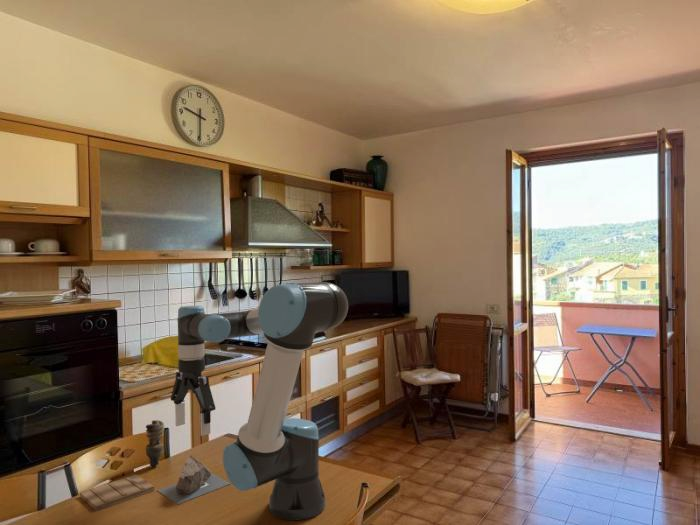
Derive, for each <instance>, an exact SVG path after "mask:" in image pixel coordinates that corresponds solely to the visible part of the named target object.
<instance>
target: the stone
mask: <svg viewBox="0 0 700 525" xmlns="http://www.w3.org/2000/svg"><path fill="white" fill-rule="evenodd" d="M211 473H212V472H211V470H210V469H209V468H208V467H207V466H206V465H205V464H204V463H202V462H201V461H200V460H198V459H197V458H195V456H194V455H192V454H191V455H190V456H189V457H187V458H186V459H185V462H184V465H183V468H182V471H181V473H180V475H179V478H178V481H177V483H176V484H177V486H176V492H177V493H179V494H181V493H184V494H185V495H188V494H190V493H192V492H194V491H196V490H197V489H199V488H200V487H201V485H202V484H203V483H204V482H205V481H206V480H207V479H209V477H210V476H211Z"/></svg>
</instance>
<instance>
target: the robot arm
mask: <svg viewBox="0 0 700 525" xmlns="http://www.w3.org/2000/svg"><path fill="white" fill-rule="evenodd" d="M348 311H349V301H348V297H347V295H346V293H345V292H344V290H343V289H342V288H340V287H339V286H338V285H336V284H335V283H331V282H327V281H320V282H302V283H301V282H299V283H296V282H286V283H284V284H277V285H273V286H272V287H270V288H269V289H268V290H267V291H265V293H264V294H263V296H262V297H261V299H260V302H259V305H258V307H257V308H252V309H249V310H248V309H247V310H243V311H235V312H223V313H211V314H208V313H206V312H205V307H203V305H185V306H180V307H179V308H178V312H177V320H176V321H177V350H178V351H177V355H178V358H179V359H178V361H177V362H178V363H177V364H178V367H177V368H178V371H176V372H175V380H174V385H173V388H172V391H171V395H170V400H171V401H172V402H173V404H174V405H175V406H174V408H175V426H176V427H178V426H179V427H180V426H183V425H185V424H186V408H185V407H186V403H185V402H186V400H185V399H186V397H187V395H188V392H189V391H191V392H192V393H193V394H194V395H195V398H196V400H197V403H198V404H199V407H200V409H201V411H200V412H199V414H200V417H199V418H200V436H201V437H203V436H206V435H209V434H211V418H212V417H211V416H212V415H211V414H212V413H211V412H212V411H215V410H216V404H215V401H214V398H213V393H212V391H211V386H210V380H209V376H202V373H203V371H205V370H206V359H205V351H206V350H205V342H209V343H212V344H213V343H221V342H224V341H225V340H228V339H235V338H242V337H253V336H258V335H262V334H263V337H264V339H265V340H266V341H267V346H266V349H265V353H264V356H263V360H262V366H261V369H260V372H259V376H258V381H257V384H256V388H255V391H254V392H255V393H254V396H253V399H252V404H251V407H250V410H249V416H248V419H247V422H246V423H244V424H242V426H241V427H240V428H239V430H238V432H237V433H238V434H237V438H236V441H235V442H230V443H229V444H228V445H226V446H224V449H223V452H222V464H223V467H224V471H225V474H226V477H227V479H228V481H229V483H231V485H232V486H233V487H234V488H235V489H236V490H238V491H239V492H240V491H242V492H246V491H249V490H253V489H255V490H256V488H258V487H261V486H263V485H265V484H267V483H271V482H272V481H274V483H273V486H272V487H273V488H272V491H271V494H270V496H269V500H268V502H269V503H268V504H269V506H268V509H269V512H270V513H271V514H272V515H273V516H274V517H277V518H279V519H282V520H287V521H301V520H307V519H310V518H313V517H316V516H318V515H319V514H321V513H322V512H323V511H324V509H325V507H326V496H325V493H324V489H323V486H322V483H321V480H320V476H319V475H320V474H319V466H320V465H319V460H320V459H319V458H320V455H319V453H320V452H319V449H320V447H319V443H320V442H319V440H320V437H319V427H318V425H317V424H316V423H315V422H313V421H311V420H308V419H305V418H304V419H303V418H297V417H296V418H294V417H293V418H292V417H291V418H290V417H289V418H286V415H287V412H288V408H289V404H290V401H291V397H292V395H293V394H292V393H293V390H294V387H295V383H296V380H297V377H298V376H297V375H298V373H299V368H300V366H301V362H302V358H303V354H304V351H307V350H309V349H311V347H312V346H313V344H314V343H313V342H314V340H315V339H314V338H315V335H316V332H322V331H328V330H331V329H334V328H337V327H338V326H340V325H341V324H342V322H343V321H344V320H345V319H346V317H347V314H348Z"/></svg>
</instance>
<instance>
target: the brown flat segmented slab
mask: <svg viewBox="0 0 700 525" xmlns="http://www.w3.org/2000/svg"><path fill="white" fill-rule="evenodd" d="M154 491H155V486H154V485H153V484H151V483H150V482H148V481H146V479H144V478H142V477H141V476H139V475H138V474H133V475H130V476H126V477H124V478H121V479H118V480H115V481H112V482H109V483H105V484H102V485H99V486H96V487H93V488H90V489H86V490H84V491H81V492H79V497H80V496H81V497H82V498H83V499H84V500H85V501H86V502H85V501H84V500H83V499H82V498H81V497H80V498H81V499H82V500H83V501H84V502H85V503H87V504H88V505H89V506H90V507H91V508H92V509H93V510H94V511H95V512H98V511H101V510H103V509H105V508H108V507H112V506H115V505H118V504H120V503H123V502H126V501H128V500H132V499H134V498H137V497H140V496H143V495H145V494H147V493H148V494H149V493H151V492H154Z"/></svg>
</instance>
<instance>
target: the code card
mask: <svg viewBox="0 0 700 525" xmlns="http://www.w3.org/2000/svg"><path fill="white" fill-rule="evenodd" d="M230 485H232V483H231V482H230V481H227V480H225V479H223V478H222V477H219V476H218V475H216V474H214V473H213V472H211V476H210V477H209V479H207V480H206V481H205V482H204V483H203V484H202V485H201V487H200V488H199V489H197V490H196V491H194V492H192V493H190V494H188V495H185V494H184V493H181V494H179V493H177V492H176V486H177V483H175V484H172V485H169V486H166V487H163V488H160V489H159V490H158V489H157V492H158V493H159V494H161V495H162V496H164V497H166V498H168V499H169V500H170V501H172V502H173V503H175V505H180V504H184V503H186V502H189V501H191V500H193V499H195V498H198V497H201V496H204V495H206V494H209V493H212V492H213V491H216V490H219V489H222V488H224V487H226V486H230Z"/></svg>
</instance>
